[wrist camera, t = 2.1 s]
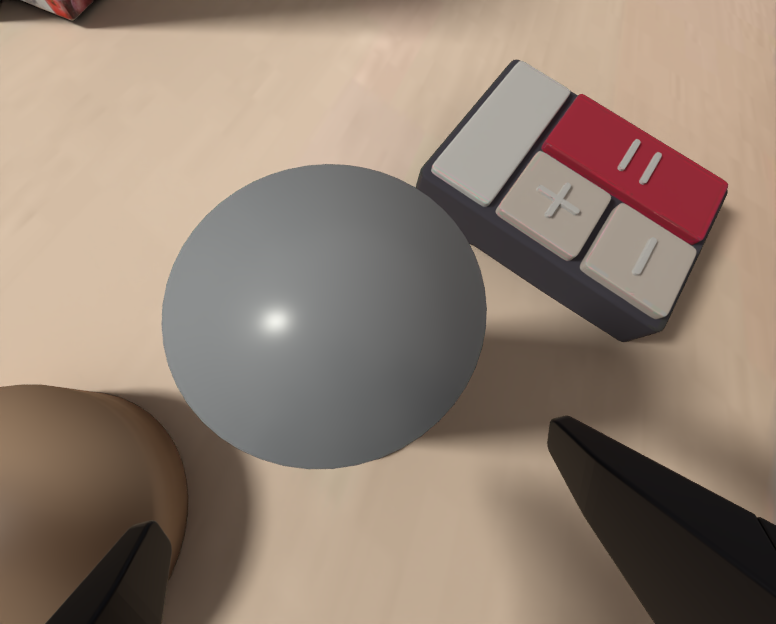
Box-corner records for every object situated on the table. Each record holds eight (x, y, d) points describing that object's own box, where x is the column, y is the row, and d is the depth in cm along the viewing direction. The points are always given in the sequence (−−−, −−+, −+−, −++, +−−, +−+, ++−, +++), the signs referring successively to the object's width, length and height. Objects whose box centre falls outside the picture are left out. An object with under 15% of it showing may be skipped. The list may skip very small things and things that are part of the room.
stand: (123, 725, 15) (64, 797, 12) (-167, 662, 15) (-296, 718, 12) (223, 417, 18) (196, 415, 15) (-9, 370, 18) (-78, 359, 16)
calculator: (675, 332, 18) (419, 162, 19) (614, 348, 22) (407, 208, 23) (745, 179, 21) (520, 43, 22) (679, 219, 25) (494, 102, 26)
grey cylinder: (412, 474, 18) (510, 571, 6) (261, 443, 18) (31, 471, 6) (435, 328, 20) (540, 171, 8) (302, 301, 20) (202, 105, 8)
